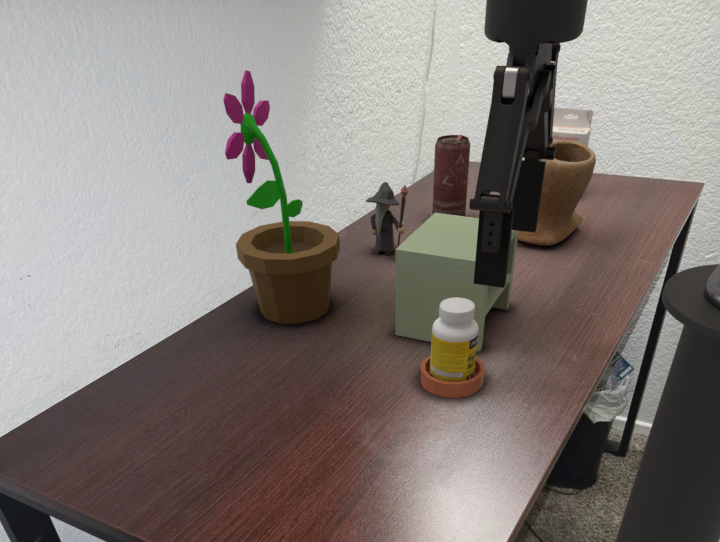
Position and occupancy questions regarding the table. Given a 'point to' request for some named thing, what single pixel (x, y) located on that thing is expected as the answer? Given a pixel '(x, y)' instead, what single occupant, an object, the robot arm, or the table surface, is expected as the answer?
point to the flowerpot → (279, 228)
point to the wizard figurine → (386, 218)
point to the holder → (451, 388)
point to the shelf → (443, 275)
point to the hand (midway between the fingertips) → (507, 255)
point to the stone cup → (561, 192)
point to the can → (451, 175)
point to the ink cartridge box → (572, 125)
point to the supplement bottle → (454, 341)
